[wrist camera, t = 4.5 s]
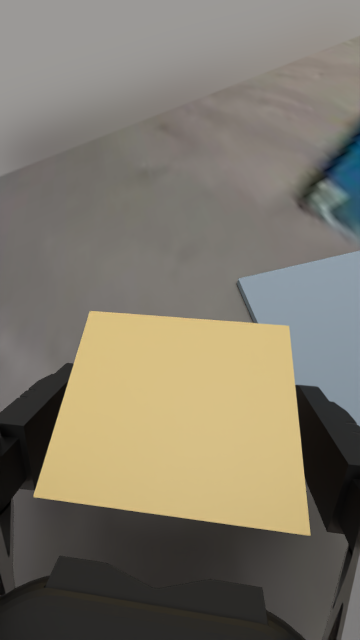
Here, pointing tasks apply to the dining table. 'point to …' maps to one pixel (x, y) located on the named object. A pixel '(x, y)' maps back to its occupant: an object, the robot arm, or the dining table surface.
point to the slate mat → (316, 322)
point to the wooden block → (181, 423)
